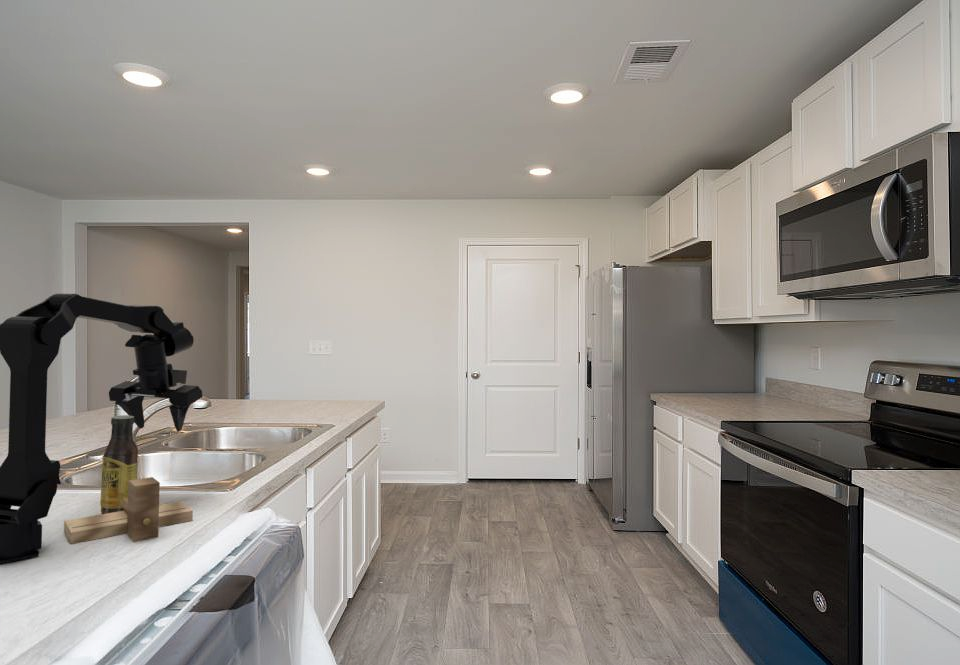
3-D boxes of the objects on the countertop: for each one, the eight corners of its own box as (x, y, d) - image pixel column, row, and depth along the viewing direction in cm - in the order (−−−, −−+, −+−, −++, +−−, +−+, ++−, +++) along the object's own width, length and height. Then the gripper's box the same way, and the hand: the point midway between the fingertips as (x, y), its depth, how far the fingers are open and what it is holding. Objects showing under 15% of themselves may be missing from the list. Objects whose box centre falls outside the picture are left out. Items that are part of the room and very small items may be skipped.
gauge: (134, 542, 102) (135, 486, 102) (115, 520, 113) (117, 470, 113) (159, 537, 105) (160, 483, 105) (138, 516, 116) (140, 467, 116)
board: (70, 543, 101) (70, 532, 101) (63, 531, 106) (64, 520, 106) (192, 520, 114) (192, 510, 114) (180, 510, 120) (180, 500, 120)
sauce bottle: (93, 513, 117) (96, 416, 117) (124, 505, 122) (127, 413, 122) (112, 519, 114) (114, 419, 114) (143, 511, 119) (145, 416, 119)
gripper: (213, 354, 130) (220, 418, 134) (139, 350, 133) (147, 412, 136) (182, 369, 119) (190, 438, 123) (101, 364, 122) (112, 432, 126)
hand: (160, 429), depth 127 cm, fingers open, 9 cm apart
